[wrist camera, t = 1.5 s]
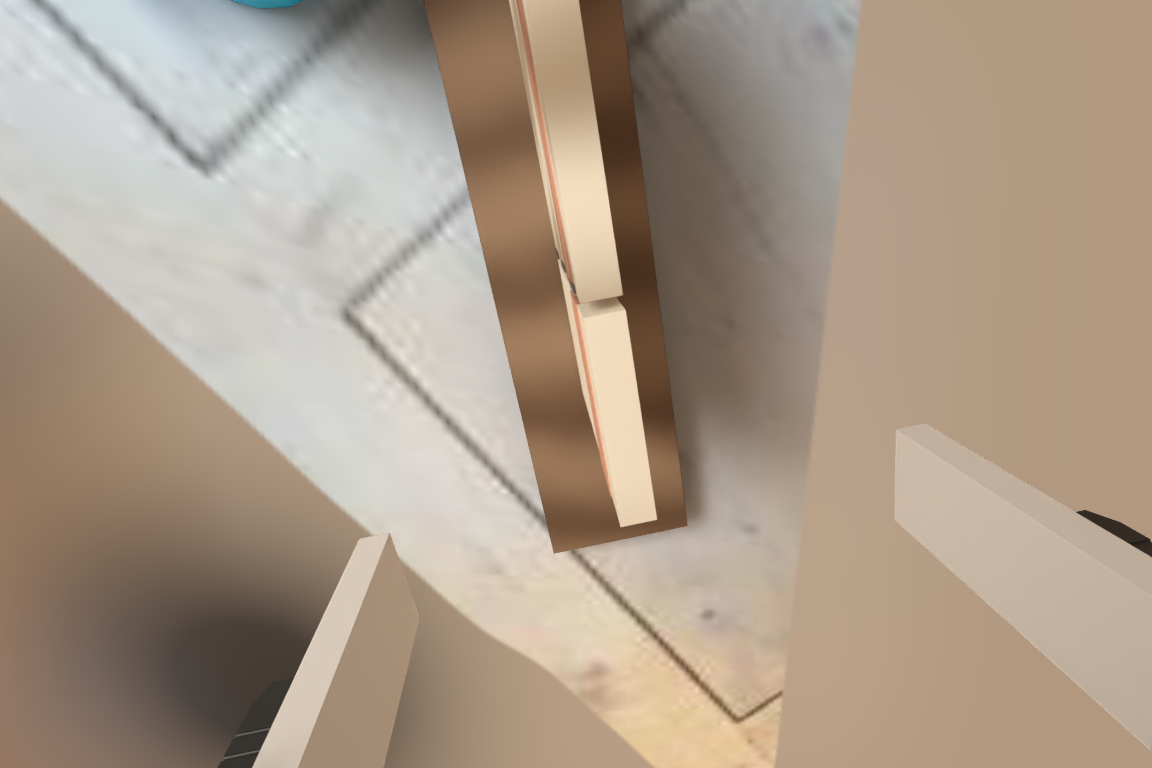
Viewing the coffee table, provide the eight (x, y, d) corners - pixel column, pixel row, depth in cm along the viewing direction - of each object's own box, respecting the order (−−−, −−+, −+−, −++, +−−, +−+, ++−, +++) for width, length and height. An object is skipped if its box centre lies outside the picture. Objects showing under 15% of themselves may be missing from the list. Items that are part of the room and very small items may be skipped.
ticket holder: (403, -104, 23) (247, -475, 10) (593, -138, 23) (685, -546, 10) (552, 533, 34) (570, 750, 21) (678, 507, 35) (773, 707, 22)
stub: (556, 259, 27) (581, 318, 15) (583, 254, 27) (627, 309, 15) (581, 393, 29) (619, 527, 18) (606, 388, 29) (658, 519, 18)
